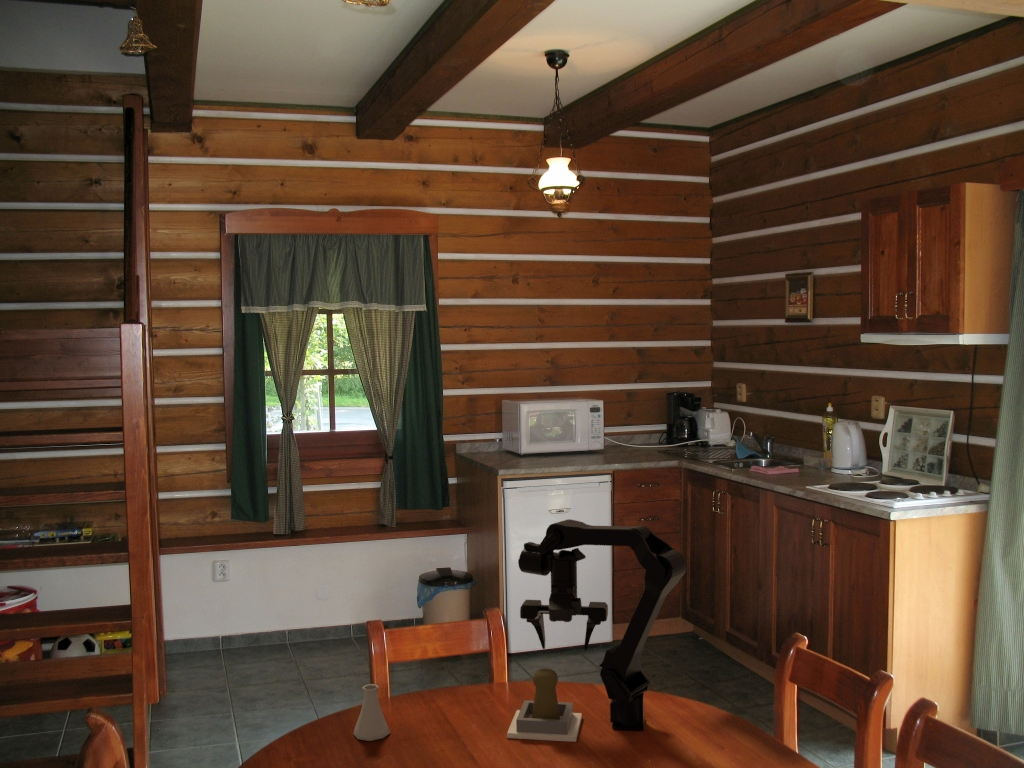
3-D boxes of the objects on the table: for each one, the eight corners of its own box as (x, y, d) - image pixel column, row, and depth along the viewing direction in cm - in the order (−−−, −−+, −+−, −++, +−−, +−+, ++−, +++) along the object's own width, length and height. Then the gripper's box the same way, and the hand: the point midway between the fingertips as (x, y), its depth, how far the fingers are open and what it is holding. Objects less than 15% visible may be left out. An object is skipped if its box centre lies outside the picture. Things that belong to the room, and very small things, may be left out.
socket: (581, 717, 197) (581, 701, 196) (575, 741, 185) (575, 724, 185) (517, 714, 199) (516, 698, 199) (507, 737, 187) (506, 720, 187)
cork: (561, 728, 189) (560, 675, 188) (531, 729, 189) (530, 676, 189) (560, 716, 195) (559, 665, 194) (531, 717, 195) (530, 665, 195)
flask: (346, 735, 190) (345, 687, 190) (374, 724, 195) (373, 677, 195) (368, 745, 185) (367, 696, 185) (396, 733, 190) (395, 686, 190)
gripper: (515, 586, 195) (516, 659, 195) (603, 589, 192) (604, 663, 192) (523, 573, 206) (524, 643, 206) (607, 576, 202) (608, 646, 203)
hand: (564, 649), depth 202 cm, fingers open, 9 cm apart
